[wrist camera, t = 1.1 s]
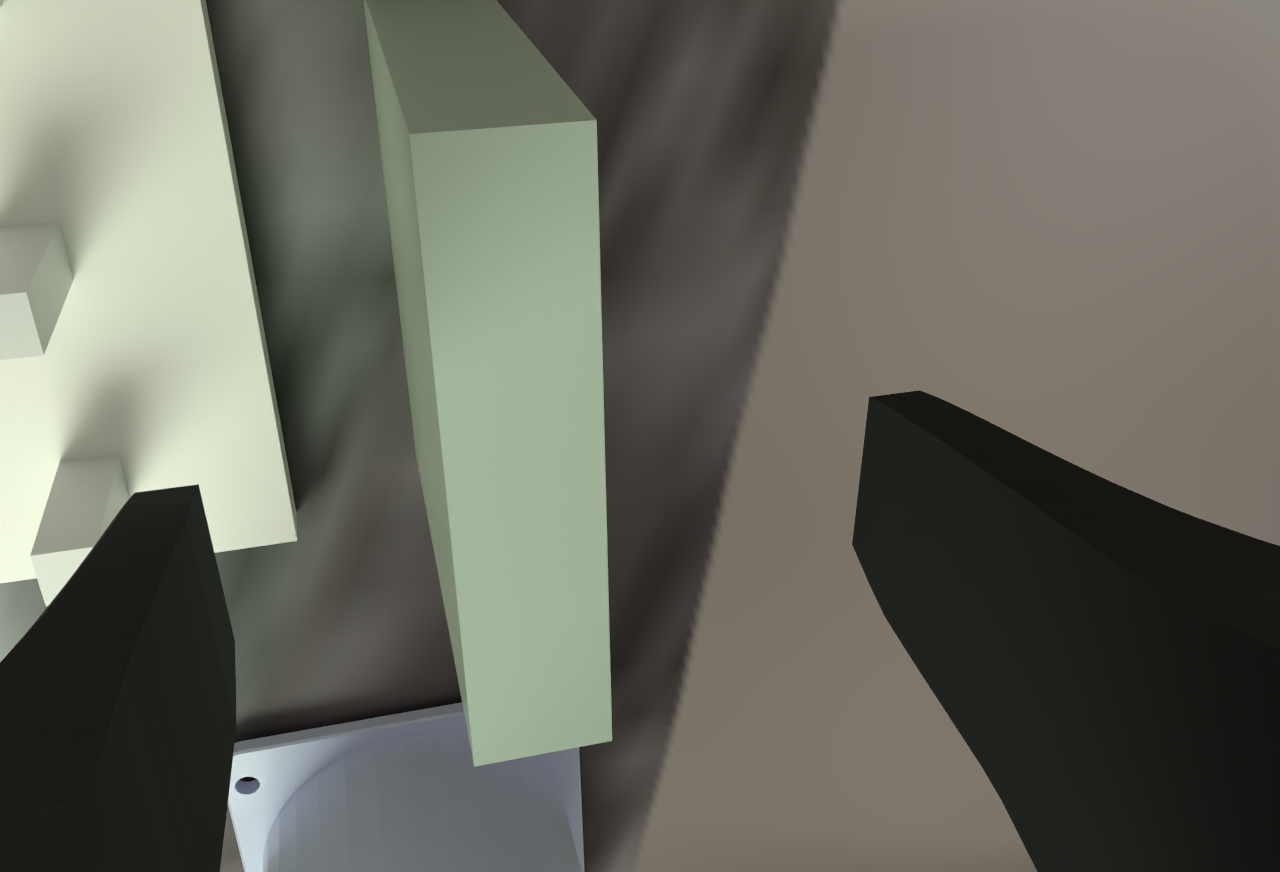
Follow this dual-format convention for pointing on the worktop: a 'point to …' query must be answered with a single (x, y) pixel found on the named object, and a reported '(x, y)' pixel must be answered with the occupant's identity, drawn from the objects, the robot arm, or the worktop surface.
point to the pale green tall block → (502, 361)
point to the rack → (125, 288)
